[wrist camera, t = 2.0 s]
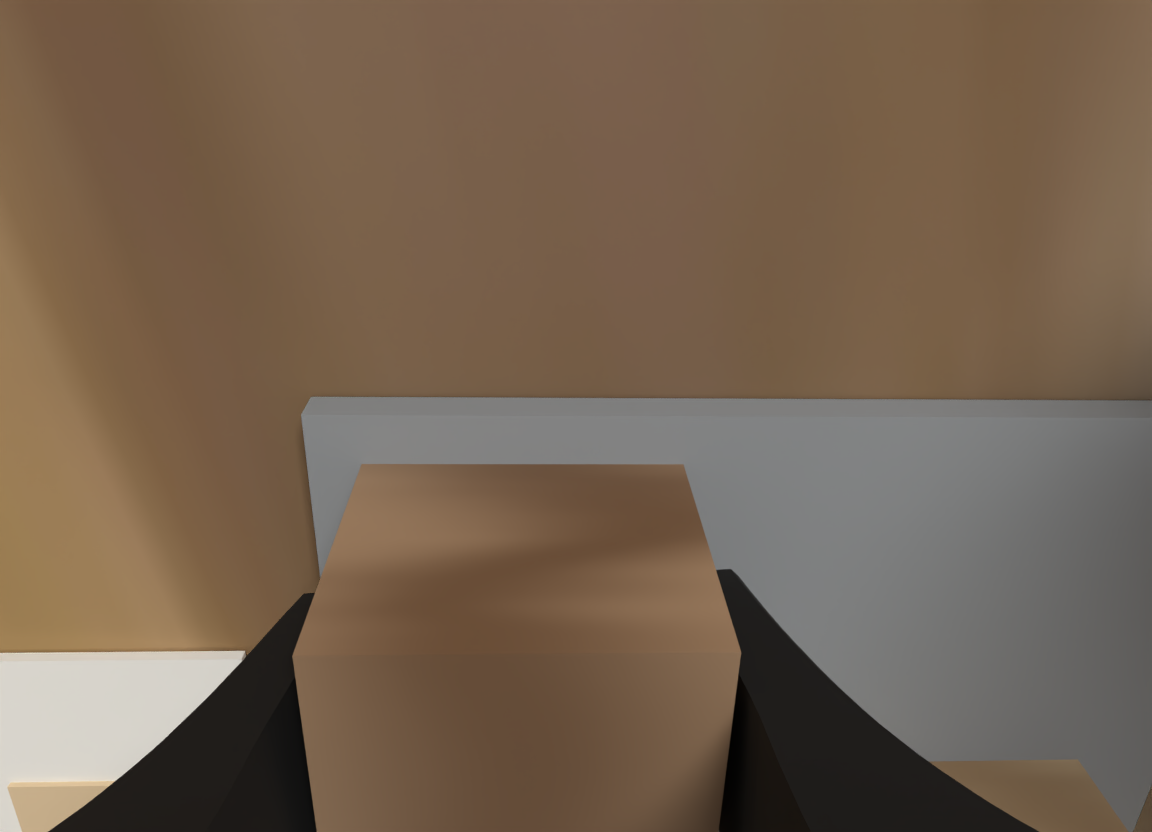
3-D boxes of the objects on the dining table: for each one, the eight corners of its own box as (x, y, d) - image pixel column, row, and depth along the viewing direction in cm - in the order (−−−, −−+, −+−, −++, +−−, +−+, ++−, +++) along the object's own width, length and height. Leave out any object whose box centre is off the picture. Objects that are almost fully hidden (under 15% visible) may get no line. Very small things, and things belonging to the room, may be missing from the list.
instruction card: (245, 651, 15) (240, 662, 14) (293, 936, 18) (289, 951, 17) (-75, 653, 14) (-87, 666, 14) (28, 942, 17) (20, 958, 17)
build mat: (1268, 401, 14) (1298, 418, 13) (1063, 935, 19) (1079, 963, 18) (311, 396, 13) (301, 415, 12) (372, 951, 18) (368, 981, 17)
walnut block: (683, 464, 13) (741, 651, 9) (662, 708, 15) (704, 942, 11) (362, 463, 13) (291, 655, 9) (383, 711, 15) (333, 950, 11)
